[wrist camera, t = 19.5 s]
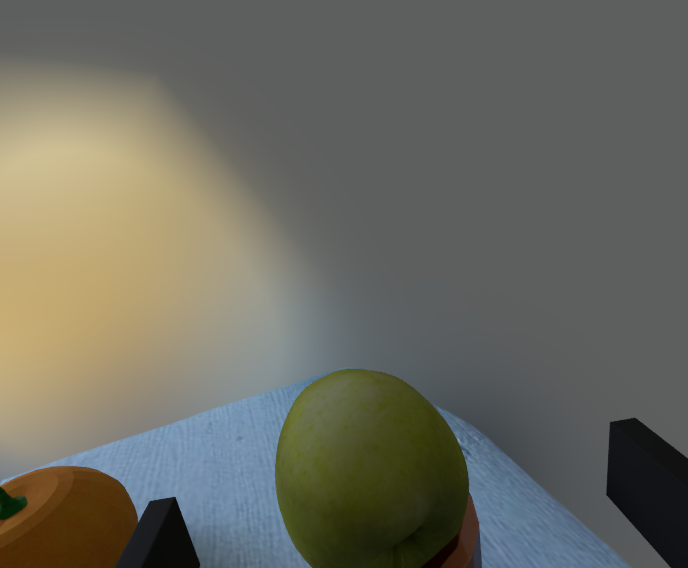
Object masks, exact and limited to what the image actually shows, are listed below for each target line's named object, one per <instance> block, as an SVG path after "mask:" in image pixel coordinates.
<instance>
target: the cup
mask: <svg viewBox="0 0 688 568" xmlns="http://www.w3.org/2000/svg"><path fill="white" fill-rule="evenodd" d="M420 568H482V557H481V544H480V531H479V521H478V518H477V514H476V511H475V507H474V504H473V500H472V497H471V495H470V493H469V495H468V504H467V510H466V513H465V516H464V519H463V521H462V524H461V527H460V529H459V530H458V532H457V534H456V535H455V536H454V538H453V539H452V540H451V541H450V542H449V543H448V544H447V545H446V546H444V547H443V548H442V549H441V550H440V551H439V552H438V553H437V554H436V555H435V556H434V557H432V558H431V559H430V560H429V561H427V562H426V563H425V564H424V565H423V566H421V567H420Z"/></svg>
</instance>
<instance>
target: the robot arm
mask: <svg viewBox="0 0 688 568" xmlns="http://www.w3.org/2000/svg"><path fill="white" fill-rule="evenodd" d="M609 435H610V436H609V453H608V472H607V494H606V495H607V496H608V497H609V498H610V499H611V501H612V502H613V503H614V504H615V505H616V506H617V507H618V508H619V510H620V511H621V512H622V513H623V514H624V515H625V516H626V517H627V519H629V521H630V522H631V523H632V524H633V525H634V526H635V528H636V529H637V530H638V531H639V532H640V533H641V534H642V536H643V537H644V538H645V539H646V540H647V541H648V542H649V543H650V545H652V547H653V548H654V549H655V550H656V551H657V552H658V554H659V555H660V556H661V557H662V558H663V559H664V560H665V561H666V563H667V564H668V565H669V566H670V567H671V568H688V458H686V457H685V456H684V455H682V454H681V453H680V452H679V451H677V450H676V449H675V448H674V447H672V446H671V445H670V444H668V443H667V442H666V441H664V440H663V439H662V438H661V437H659V436H658V435H657V434H656V433H654V432H653V431H652V430H650V429H649V428H648V427H647V426H645V425H644V424H643V423H641V422H640V421H639V420H637V419H636V418H631V419H625V420H619V421H614V422H610V434H609ZM199 567H200V563H199V560H198V557H197V555H196V552H195V549H194V546H193V544H192V541H191V538H190V535H189V533H188V530H187V527H186V525H185V522H184V519H183V516H182V514H181V511H180V508H179V505H178V503H177V500H176V497H171V498H166V499H160V500H154V501H150V502H149V504H148V506H147V507H146V509H145V511H144V513H143V515H142V517H141V519H140V521H139V522H138V524H137V526H136V528H135V530H134V532H133V534H132V535H131V537H130V539H129V541H128V543H127V545H126V547H125V549H124V550H123V552H122V554H121V556H120V558H119V560H118V562H117V563H116V565H115V567H114V568H199Z"/></svg>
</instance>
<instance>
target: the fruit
mask: <svg viewBox="0 0 688 568" xmlns="http://www.w3.org/2000/svg"><path fill="white" fill-rule="evenodd" d="M137 524H138V516H137V513H136V509H135V507H134V504H133V502H132V500H131V498H130V496H129V494H128V493H127V491H126V489H125V487H124V486H123V485H122V484H121V483H120V482H119V481H118V480H116V479H114V478H113V477H111V476H109V475H107V474H105V473H103V472H100V471H98V470H95V469H92V468H87V467H77V466H58V467H49V468H44V469H39V470H35V471H33V472H30V473H27V474H25V475H22V476H19V477H17V478H15V479H13V480H11V481H9V482H7V483H5V484H3V485H1V486H0V568H114V567H115V565H116V563H117V562H118V560H119V558H120V556H121V554H122V552H123V550H124V549H125V547H126V545H127V543H128V541H129V539H130V537H131V535H132V534H133V532H134V530H135V528H136V526H137Z"/></svg>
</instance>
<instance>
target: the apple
mask: <svg viewBox="0 0 688 568" xmlns="http://www.w3.org/2000/svg"><path fill="white" fill-rule="evenodd" d="M275 482H276V492H277V499H278V504H279V507H280V511H281V514H282V517H283V521H284V523H285V526H286V529H287V531H288V534H289V536H290V538H291V540H292V542H293V544H294V545H295V547H296V549H297V550H298V552H299V553H300V554H301V555H302V557H303V558H304V559H305V560H306V562H307V563H308V564H309V565H310V566H311V567H312V568H420V567H421V566H423V565H424V564H425V563H426V562H427V561H429V560H430V559H431V558H432V557H434V556H435V555H436V554H437V553H438V552H439V551H440V550H441V549H442V548H443V547H444V546H446V545H447V544H448V543H449V542H450V541H451V540H452V539H453V538H454V536H455V535H456V534H457V532H458V530H459V529H460V527H461V524H462V521H463V519H464V516H465V513H466V510H467V504H468V495H469V479H468V471H467V466H466V462H465V458H464V455H463V453H462V450H461V447H460V445H459V443H458V441H457V439H456V437H455V435H454V433H453V432H452V430H451V428H450V427H449V425H448V424H447V422H446V421H445V419H444V418H443V417H442V416H441V415H440V413H439V412H438V411H437V410H436V409H435V408H434V407H433V405H432V404H431V403H429V402H428V401H427V400H426V399H425V398H424V397H423V396H422V395H421V394H420V393H419V392H417V391H416V390H415V389H414V388H413V387H411V386H410V385H409V384H407V383H406V382H404V381H403V380H401V379H399V378H397V377H395V376H392V375H389V374H386V373H382V372H377V371H369V370H358V369H345V370H340V371H336V372H334V373H331V374H329V375H327V376H325V377H323V378H321V379H319V380H317V381H315V382H313V383H312V384H311V385H309V386H308V387H306V388H305V389H304V390H303V391H302V392H301V394H300V395H299V396H298V397H297V399H296V400H295V402H294V404H293V405H292V407H291V409H290V411H289V413H288V415H287V418H286V420H285V422H284V425H283V428H282V430H281V434H280V437H279V442H278V447H277V454H276V464H275Z"/></svg>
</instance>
